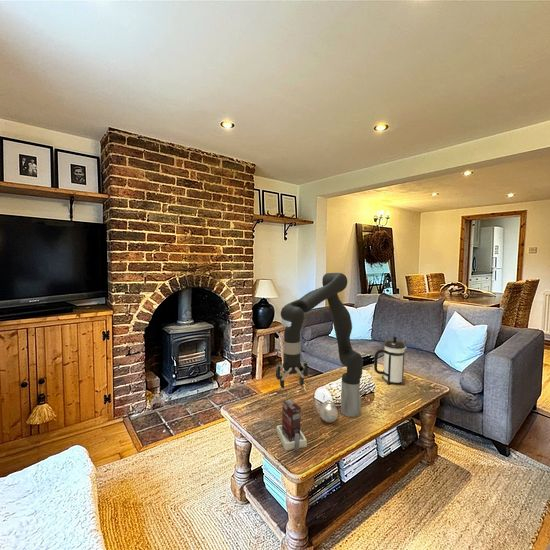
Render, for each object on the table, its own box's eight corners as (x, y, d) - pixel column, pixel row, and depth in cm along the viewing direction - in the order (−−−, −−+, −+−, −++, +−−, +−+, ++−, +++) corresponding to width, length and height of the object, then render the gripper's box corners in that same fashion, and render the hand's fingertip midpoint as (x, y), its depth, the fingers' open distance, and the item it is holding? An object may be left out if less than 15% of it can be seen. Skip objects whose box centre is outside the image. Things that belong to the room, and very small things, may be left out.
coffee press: (387, 374, 208) (388, 331, 205) (409, 382, 196) (412, 337, 193) (372, 381, 197) (374, 336, 194) (396, 390, 185) (398, 342, 182)
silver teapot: (340, 418, 153) (340, 399, 152) (335, 428, 145) (335, 408, 144) (322, 413, 157) (323, 395, 156) (317, 423, 149) (317, 403, 148)
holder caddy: (294, 426, 146) (294, 412, 145) (308, 449, 129) (308, 433, 128) (275, 429, 143) (275, 415, 142) (286, 453, 126) (287, 437, 126)
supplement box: (281, 433, 139) (281, 400, 137) (290, 431, 141) (290, 398, 140) (291, 444, 131) (291, 409, 130) (300, 441, 133) (301, 407, 132)
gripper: (304, 346, 138) (303, 381, 139) (274, 349, 134) (274, 384, 135) (310, 352, 131) (310, 388, 132) (278, 355, 127) (278, 392, 128)
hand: (291, 386), depth 134 cm, fingers open, 8 cm apart
